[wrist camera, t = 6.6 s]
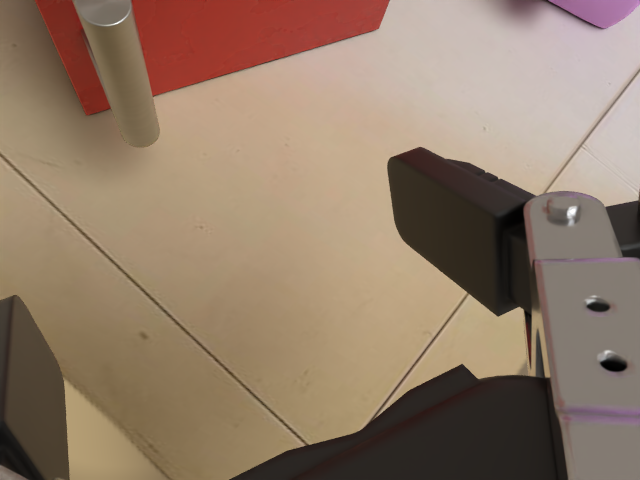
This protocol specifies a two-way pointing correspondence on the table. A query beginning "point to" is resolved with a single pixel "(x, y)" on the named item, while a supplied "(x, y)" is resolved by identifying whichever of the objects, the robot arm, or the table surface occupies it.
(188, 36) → the door
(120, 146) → the table surface
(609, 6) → the teapot
